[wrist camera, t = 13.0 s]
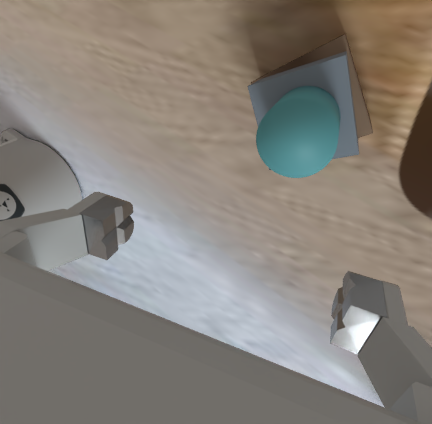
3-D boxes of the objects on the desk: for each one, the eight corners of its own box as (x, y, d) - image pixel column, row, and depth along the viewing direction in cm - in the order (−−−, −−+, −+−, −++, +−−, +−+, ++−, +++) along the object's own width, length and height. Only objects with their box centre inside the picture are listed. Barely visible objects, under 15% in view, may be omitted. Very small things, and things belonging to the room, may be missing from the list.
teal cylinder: (285, 160, 25) (272, 186, 21) (262, 102, 23) (244, 119, 19) (349, 139, 22) (348, 164, 18) (328, 73, 21) (322, 84, 17)
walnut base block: (289, 149, 32) (283, 162, 29) (261, 76, 30) (250, 82, 27) (370, 121, 28) (373, 133, 25) (345, 33, 26) (344, 34, 23)
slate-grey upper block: (278, 154, 29) (269, 170, 26) (260, 79, 26) (247, 86, 23) (357, 138, 26) (358, 154, 23) (346, 51, 23) (346, 54, 20)
